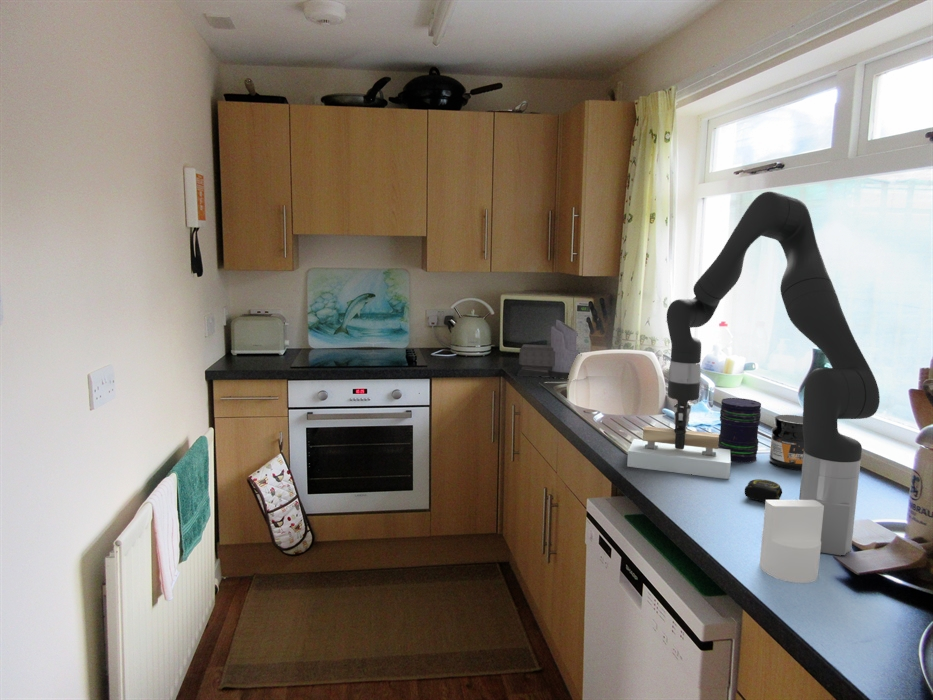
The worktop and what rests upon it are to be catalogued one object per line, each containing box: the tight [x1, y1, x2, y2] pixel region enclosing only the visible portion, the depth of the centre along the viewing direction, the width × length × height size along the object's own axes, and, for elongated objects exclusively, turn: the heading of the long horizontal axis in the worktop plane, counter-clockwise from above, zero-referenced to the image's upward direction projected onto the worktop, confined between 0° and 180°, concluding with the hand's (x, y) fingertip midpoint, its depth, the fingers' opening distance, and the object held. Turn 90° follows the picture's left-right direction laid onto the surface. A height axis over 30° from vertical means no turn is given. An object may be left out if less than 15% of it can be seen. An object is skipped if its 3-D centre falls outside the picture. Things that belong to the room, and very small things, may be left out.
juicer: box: [516, 319, 581, 379], centre depth 289 cm, size 30×16×24 cm, turn 79°
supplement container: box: [768, 414, 804, 471], centre depth 172 cm, size 10×10×12 cm
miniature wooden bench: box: [642, 425, 720, 456], centre depth 169 cm, size 4×18×6 cm, turn 69°
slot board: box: [626, 438, 732, 480], centre depth 170 cm, size 12×24×4 cm, turn 69°
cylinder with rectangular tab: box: [759, 499, 824, 584], centre depth 114 cm, size 9×9×12 cm
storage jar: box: [718, 397, 762, 464], centre depth 177 cm, size 10×10×15 cm
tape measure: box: [744, 479, 783, 503], centre depth 147 cm, size 7×7×4 cm
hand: (679, 446), depth 169 cm, fingers closed on miniature wooden bench, 3 cm apart
